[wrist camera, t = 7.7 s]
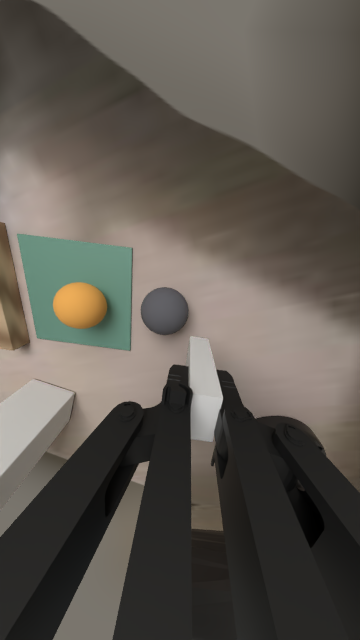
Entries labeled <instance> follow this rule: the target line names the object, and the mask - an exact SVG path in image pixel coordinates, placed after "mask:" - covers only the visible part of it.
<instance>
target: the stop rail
mask: <svg viewBox="0 0 360 640" xmlns="http://www.w3.org/2000/svg"><path fill="white" fill-rule="evenodd" d="M29 342H30V341H29V336H28V332H27V327H26V322H25V317H24V313H23V308H22V303H21V298H20V294H19V289H18V284H17V280H16V275H15V270H14V265H13V261H12V256H11V251H10V246H9V242H8V237H7V232H6V228H5V223H2V222H0V349H6V350H15V349H17V348H19V347H21V346H23V345H25V344H27V343H29Z"/></svg>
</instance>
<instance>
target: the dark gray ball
mask: <svg viewBox="0 0 360 640" xmlns="http://www.w3.org/2000/svg"><path fill="white" fill-rule="evenodd" d="M141 316H142V320H143V322H144V324H145V325H146V326H147V327H148V328H149V329H150V330H151V331H153V332H155V333H157V334H161V335H168V334H173V333H175V332H177V331H178V330H180V329H181V328H182V327H183V326H184V324H185V323H186V320H187V318H188V305H187V302H186V300H185V298H184V297H183V296H182V295H181V294H180V293H179V292H178V291H176V290H174V289H172V288H167V287H163V288H157V289H155V290H153V291H151V292H150V293H149V294H148V295H147V296H146V297H145V298H144V300H143V302H142V306H141Z"/></svg>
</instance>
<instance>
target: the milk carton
mask: <svg viewBox="0 0 360 640" xmlns="http://www.w3.org/2000/svg"><path fill="white" fill-rule="evenodd" d="M74 395H75V392H72V391H69V390H66V389H63V388H60V387H57V386H54V385H51V384H48V383H45V382H42V381H39V380H36V379H32V380H31V381H30V382H28V383H27V384H26V385H24V386H23V387H22V388H20V389H19V390H17V391H16V392H15V393H13V394H12V395H11V396H9V397H8V398H7V399H5V400H4V401H3V402H1V403H0V511H1V509H2V508H3V507H4V505H5V504H6V503H7V502H8V500H9V499H10V498H11V496H12V495H13V494H14V492H15V491H16V490H17V488H18V487H19V485H20V484H21V483H22V482H23V481H24V479H25V478H26V477H27V475H28V474H29V473H30V471H31V470H32V469H33V467H34V466H35V465H36V463H37V462H38V461H39V459H40V458H41V457H42V456H43V454H44V453H45V452H46V450H47V449H48V448H49V446H50V445H51V444H52V442H53V441H54V440H55V439H56V437H57V436H58V435H59V433H60V432H61V431H62V429H63V428H64V427H65V425H66V424H67V423H68V421H69V420H70V415H71V410H72V405H73V400H74Z"/></svg>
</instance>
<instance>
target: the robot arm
mask: <svg viewBox="0 0 360 640" xmlns="http://www.w3.org/2000/svg"><path fill="white" fill-rule="evenodd" d="M214 435H215V442H216V445H215V449H214V453H213V456H212V460H211V466H214V462H215V466H216V474H217V482H218V490H219V498H220V506H221V514H222V522H223V530H224V531H214V530H200V529H191V439H194V440H201V441H208V442H213V438H214ZM146 461H150V462H149V467H148V471H147V476H146V481H145V486H144V491H143V496H142V500H141V505H140V510H139V515H138V520H137V524H136V530H135V534H134V539H133V544H132V549H131V554H130V558H129V563H128V568H127V573H126V577H125V582H124V587H123V592H122V597H121V602H120V606H119V611H118V616H117V621H116V626H115V630H114V635H113V640H360V493H359V492H358V491H357V490H356V489H355V487H354V486H353V485H352V484H351V483H350V482H349V481H348V480H347V479H346V478H345V477H344V475H343V474H342V473H341V472H340V471H339V470H338V469H337V468H336V467H335V466H334V465H333V463H332V462H331V461H330V460H329V459H328V458H327V457H326V453H325V450H324V448H323V446H322V444H321V443H320V441H319V440H318V439H317V437H316V436H315V434H314V433H313V432H312V430H311V429H310V428H309V427H308V426H307V425H305V424H304V423H302V422H300V421H298V420H295V419H292V418H288V417H282V416H269V417H262V418H258V419H255V418H254V416H253V415H252V413H251V412H250V411H249V410H248V409H247V408H245V407H244V406H243V404H242V401H241V399H240V396H239V393H238V391H237V389H236V386H235V384H234V380H233V378H232V376H231V375H230V374H229V373H228V372H227V371H222V370H216V368H215V364H214V360H213V356H212V352H211V348H210V344H209V340H208V338H200V337H193V336H190V340H189V347H188V353H187V360H186V366H181V365H173V366H172V367H171V368H170V370H169V375H168V380H167V384H166V385H165V387H164V389H163V394H162V401H161V403H160V404H158V405H157V406H154V407H151V408H145V409H142V407H141V406H140V405H139V404H138V403H136V402H131V401H129V402H123V403H121V404H118V405H117V406H116V407H115V408H113V410H112V411H111V412H110V413H109V414H108V415H107V416H106V418H105V419H104V420H103V421H102V422H101V423H100V424H99V425H98V427H97V428H96V429H95V430H94V431H93V432H92V433H91V435H90V436H89V437H88V438H87V439H86V440H85V441H84V443H83V444H82V445H81V446H80V447H79V448H78V449H77V451H76V452H75V453H74V454H73V455H72V456H71V457H70V458H69V460H68V461H67V462H66V463H65V464H64V465H63V466H62V468H61V469H60V470H59V471H58V472H57V473H56V474H55V476H54V477H53V478H52V479H51V480H50V481H49V482H48V484H47V485H46V486H45V487H44V488H43V489H42V490H41V491H40V493H39V494H38V495H37V496H36V497H35V498H34V499H33V501H32V502H31V503H30V504H29V505H28V506H27V507H26V509H25V510H24V511H23V512H22V513H21V514H20V515H19V517H18V518H17V519H16V520H15V521H14V522H13V523H12V524H11V526H10V527H9V528H8V529H7V530H6V531H5V532H4V534H3V535H2V536H1V537H0V640H52V639H53V638H54V636H55V634H56V632H57V629H58V627H59V625H60V623H61V621H62V619H63V617H64V615H65V613H66V611H67V609H68V607H69V605H70V603H71V601H72V599H73V597H74V595H75V593H76V591H77V589H78V586H79V585H80V583H81V581H82V579H83V576H84V574H85V572H86V570H87V568H88V566H89V564H90V562H91V560H92V558H93V556H94V554H95V552H96V550H97V548H98V546H99V544H100V542H101V540H102V538H103V536H104V534H105V531H106V530H107V528H108V525H109V523H110V521H111V519H112V517H113V515H114V513H115V511H116V509H117V507H118V505H119V503H120V501H121V499H122V497H123V495H124V493H125V491H126V489H127V487H128V485H129V483H130V481H131V479H132V477H133V475H134V472H135V470H136V468H137V466H138V464H139V463H142V462H146Z"/></svg>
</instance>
